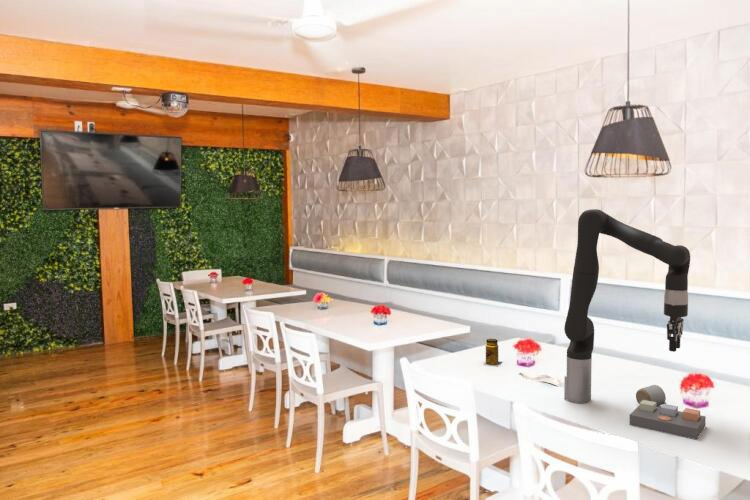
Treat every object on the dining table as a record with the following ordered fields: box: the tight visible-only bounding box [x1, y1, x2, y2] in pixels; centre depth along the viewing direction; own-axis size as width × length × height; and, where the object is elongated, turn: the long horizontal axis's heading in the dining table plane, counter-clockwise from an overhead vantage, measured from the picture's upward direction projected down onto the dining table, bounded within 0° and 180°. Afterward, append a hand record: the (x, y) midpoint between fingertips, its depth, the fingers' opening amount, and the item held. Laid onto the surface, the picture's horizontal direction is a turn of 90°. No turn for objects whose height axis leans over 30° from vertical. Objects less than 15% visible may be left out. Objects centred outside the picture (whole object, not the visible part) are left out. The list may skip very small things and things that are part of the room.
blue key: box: [660, 403, 679, 417], centre depth 205 cm, size 4×4×3 cm
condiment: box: [483, 338, 503, 367], centre depth 284 cm, size 7×8×12 cm
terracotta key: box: [682, 407, 701, 422], centre depth 200 cm, size 4×4×3 cm
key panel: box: [629, 405, 706, 440], centre depth 203 cm, size 21×14×4 cm, turn 51°
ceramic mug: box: [635, 384, 667, 407], centre depth 221 cm, size 11×8×8 cm
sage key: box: [638, 400, 656, 413], centre depth 209 cm, size 4×4×3 cm
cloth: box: [518, 372, 565, 387], centre depth 257 cm, size 26×14×2 cm, turn 28°
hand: (674, 349), depth 208 cm, fingers open, 5 cm apart
